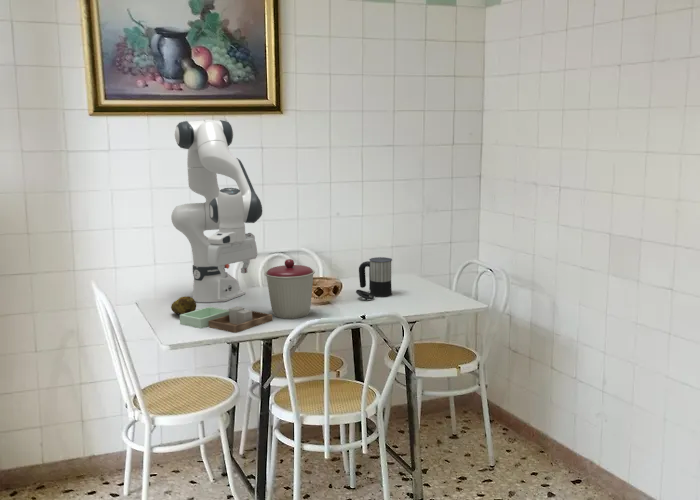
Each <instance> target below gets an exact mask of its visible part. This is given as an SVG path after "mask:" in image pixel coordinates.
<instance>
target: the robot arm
mask: <svg viewBox="0 0 700 500" xmlns="http://www.w3.org/2000/svg"><path fill="white" fill-rule="evenodd" d="M233 131H234V130H233V126H232V124H231V123H230V122H229V121H226V120H221V119H219V120H214V119H201V120H190V121H188V120H185V121H179V122H178V123H177V125H176V127H175V131H174V139H175V141H176V144H177V146H178V147H179V148H181V149H183V150H187V159H186V160H187V178H188V179H187V181H188V187H189V189H190V190H191V192H193V193H196V194H198V195H201V196H203V197H204V199H205V202H194V203H184V204H180V205H176V206H175V207H174V208H173V210H172V213H171V222H172V223H171V224H172V225H173V227H174V228H175V229H176V230H177V231H179V232H181V234H183V235H184V236H185V237H186V239H187V240H188V242H189V245H190V247H191V248H190V249H191V252H192V253H191V254H192V260H193V264H192V275H193V285H192V286H193V289H192V295H191V296H192V298H193V299H194V300H195V302H196V303H216V302H223V303H224V302H227V301H231V300H234V299H235V298H238V297H240V296H243V295H246V292H245V290H243V289H240V286H239V281H238V279H236V278H235V277H234V276H232V275H231V274H230V273H228V272H227V271H226V269H227V270H228V269H229V268H230V264H235V263H240V262H241V263H243V264H242V267H241V268H240V273H241V274H247V273H248V267H249V265H250V260H255V259H257V258H258V257H257V256H258V250H257V249H258V248H257V243H256V238H255V235H254V234H253V233H252V232H248V233H246V224H255V223H256V222H257V221H259V219H260V218H261V217H262V215H263V204H262V202H261V199H260V198H259V196H258V194H257V193H256V191H255V189H254V186H253V183H252V182H251V180H250V177H249V175H248V173H247V170H246V169H245V167H244V164H243V162H242V161H241V159H239V158H238V157H236V156H235V155H234V154H233V153H232V151H231V150H230V148H229V146H231V144H232V143H233V138H234V132H233ZM217 174H218V175H221V176H226V177H228V178H230V179H232V180H234V181H235V183H236V184H237V187H238V188H236V187H224V188H221V189H220V187H219V183H218V178H217ZM216 230H217V231H216ZM205 231H216V232H215V233H213V234H211V235H209V236H206V235H205V234H204V232H205Z"/></svg>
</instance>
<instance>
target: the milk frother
mask: <svg viewBox="0 0 700 500" xmlns="http://www.w3.org/2000/svg"><path fill="white" fill-rule="evenodd" d="M368 260H369V261H368ZM368 260H367V261H364V262H362V263H361V264H360V265H359V266H358V279H359V287H360V288H361V289H356V291H355V293H356V294H357V295H358V296H359V297H361V298H362V299H364V300H365V301H367V300H373V299H374V298H388V297H391V296H392V295H393V291H392V261H393V259H392V258H391V257H383V256H379V257H371V258H369V259H368ZM367 267H368V268H369V274H368V279H369V282H368V283H369V286H368V287H369V288H368V289H369V292H367V291H365V290H362V289H364V288H365V287H366V286H367V280H366V268H367Z"/></svg>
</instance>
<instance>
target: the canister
mask: <svg viewBox="0 0 700 500" xmlns="http://www.w3.org/2000/svg"><path fill="white" fill-rule="evenodd" d="M315 273H316V271H315V269H313V268H312V267H310V266H306V265H302V264H295V260H294V259H291V258H288V259H286V260H285V261H284V265H279V266H278V265H277V266H273V267H271V268H268V270H266V271H264V276H266V281H267V288H268V294H269V295H268V296H269V301H270V306H271V311H272V315H273V316H274V317H275V318H279V319H289V320H290V319H300V318H303V317H307V316H309V314H310V311H311V306H312V295H313V282H314V274H315Z"/></svg>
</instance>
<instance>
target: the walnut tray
mask: <svg viewBox="0 0 700 500" xmlns="http://www.w3.org/2000/svg"><path fill="white" fill-rule="evenodd" d="M249 311H252V320H251V321H248V322H245V323H242V324H238V325H237V324H233V323H230V318H229V315H227V316H223V317H220V318H217V319H213V320H210V321H208V322H209V326H208V328H210V329H214V330H219V331H224V332H230V333H233V334H237V333H240V332H243V331H246V330H249V329H253V328H255V327H258V326H261V325H264V324H268V323H271V322H273V320H274V318H273V314H271V313H265V312H259V311H255V310H250V309H249Z"/></svg>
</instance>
